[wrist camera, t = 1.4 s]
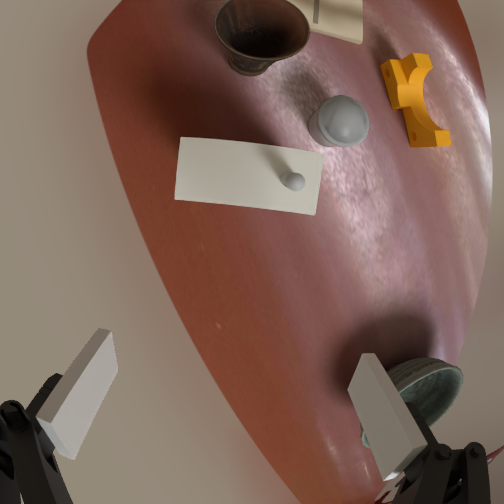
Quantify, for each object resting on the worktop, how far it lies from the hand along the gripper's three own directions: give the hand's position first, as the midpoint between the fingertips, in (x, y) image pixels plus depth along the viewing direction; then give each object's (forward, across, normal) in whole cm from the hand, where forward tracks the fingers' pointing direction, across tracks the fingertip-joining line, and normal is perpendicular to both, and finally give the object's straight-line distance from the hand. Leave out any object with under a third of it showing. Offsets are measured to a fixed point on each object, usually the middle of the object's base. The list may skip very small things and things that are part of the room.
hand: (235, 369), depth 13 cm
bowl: (+23, +32, -23) cm, 46 cm away
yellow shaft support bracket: (+23, +20, +22) cm, 38 cm away
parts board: (+23, +6, +35) cm, 42 cm away
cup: (+23, -1, +24) cm, 33 cm away
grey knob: (+23, +9, +16) cm, 29 cm away
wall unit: (+23, 0, +9) cm, 25 cm away
